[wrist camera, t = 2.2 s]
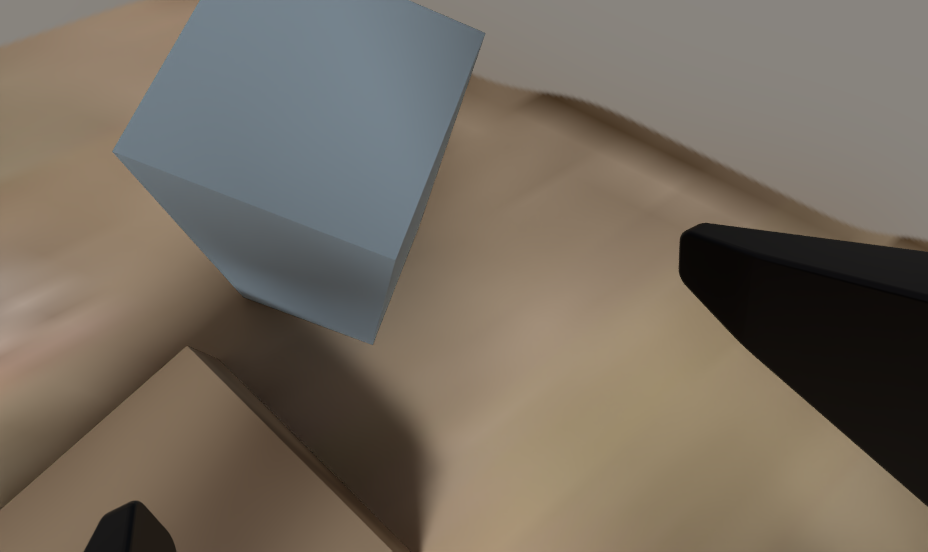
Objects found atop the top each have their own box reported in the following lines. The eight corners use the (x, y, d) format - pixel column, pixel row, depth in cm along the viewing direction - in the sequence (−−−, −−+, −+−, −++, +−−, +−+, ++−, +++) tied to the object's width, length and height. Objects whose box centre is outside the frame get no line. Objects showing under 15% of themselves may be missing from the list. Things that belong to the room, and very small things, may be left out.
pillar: (418, 226, 21) (485, 32, 10) (372, 345, 20) (394, 260, 9) (298, 179, 21) (241, -72, 10) (243, 297, 19) (112, 151, 9)
